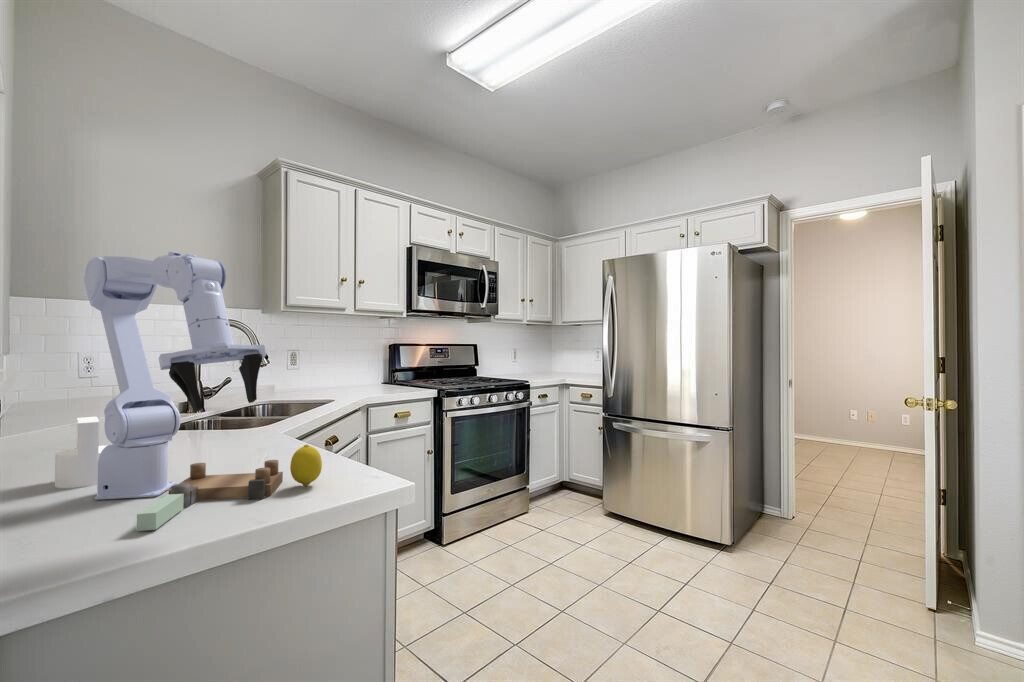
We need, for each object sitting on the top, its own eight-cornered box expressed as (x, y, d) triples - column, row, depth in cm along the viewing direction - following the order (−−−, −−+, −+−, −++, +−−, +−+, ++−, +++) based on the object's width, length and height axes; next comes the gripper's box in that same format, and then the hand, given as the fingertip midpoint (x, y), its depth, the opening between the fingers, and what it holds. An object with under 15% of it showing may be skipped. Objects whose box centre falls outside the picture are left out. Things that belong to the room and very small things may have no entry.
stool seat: (155, 510, 77) (156, 482, 77) (190, 486, 90) (191, 462, 90) (263, 504, 80) (264, 477, 80) (282, 481, 93) (282, 459, 93)
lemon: (326, 482, 93) (327, 442, 93) (312, 491, 88) (312, 448, 88) (300, 481, 94) (300, 441, 94) (283, 490, 88) (284, 447, 88)
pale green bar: (166, 509, 76) (166, 494, 76) (183, 508, 77) (183, 493, 77) (136, 530, 68) (136, 514, 68) (155, 529, 68) (156, 512, 68)
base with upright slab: (118, 481, 92) (119, 420, 92) (54, 491, 86) (55, 425, 86) (114, 472, 99) (116, 414, 99) (55, 480, 93) (56, 419, 93)
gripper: (158, 318, 69) (175, 407, 67) (264, 313, 80) (282, 390, 77) (151, 336, 74) (167, 420, 71) (251, 329, 84) (268, 402, 82)
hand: (226, 405), depth 74 cm, fingers open, 7 cm apart
